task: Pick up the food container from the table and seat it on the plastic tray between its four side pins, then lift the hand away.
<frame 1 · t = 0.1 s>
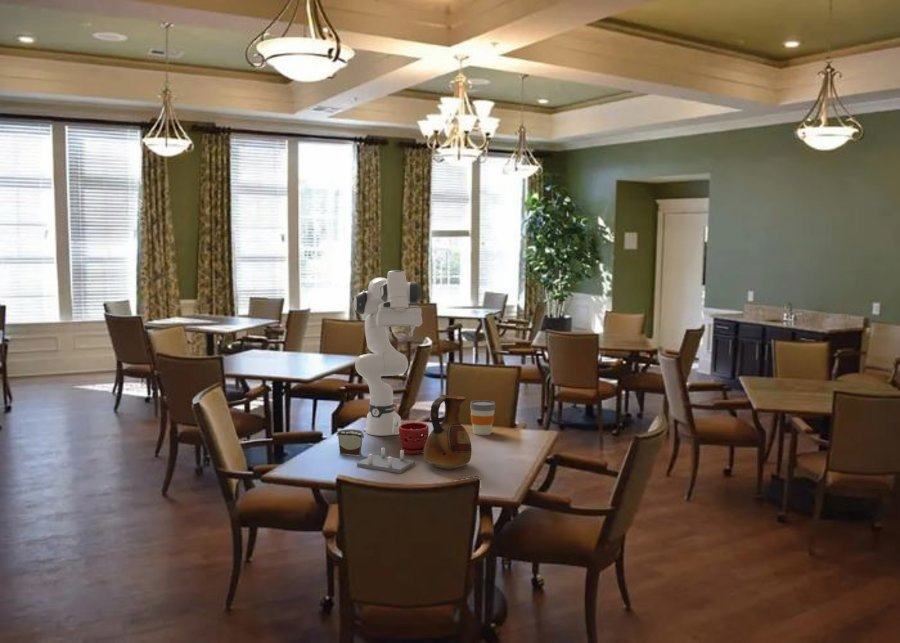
hand: (400, 336, 338), 52 cm above the table, tool tilted 20°, fingers open, 8 cm apart
reusable coffee cup: (482, 433, 383), on the table
food container: (352, 453, 341), on the table
ceramic pitcher: (447, 466, 325), on the table
pin tray: (386, 465, 324), on the table
plant pot: (413, 452, 345), on the table
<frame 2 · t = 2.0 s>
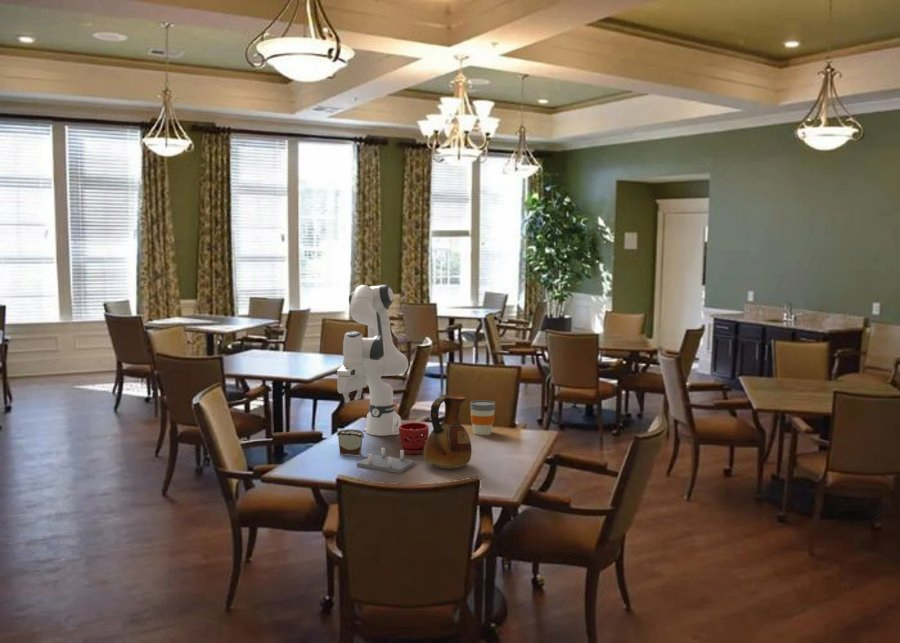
hand: (352, 400, 339), 24 cm above the table, tool pointing down, fingers open, 8 cm apart
nothing on the table moved.
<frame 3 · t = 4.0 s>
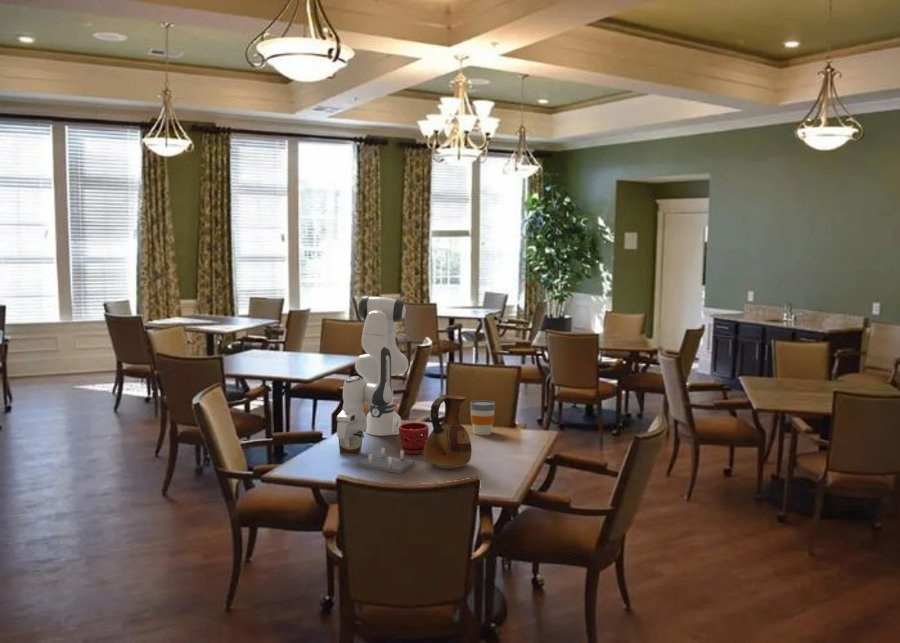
hand: (352, 444, 341), 4 cm above the table, tool pointing down, fingers closed on food container, 6 cm apart
food container: (352, 453, 341), on the table, touching gripper
everything else where it was.
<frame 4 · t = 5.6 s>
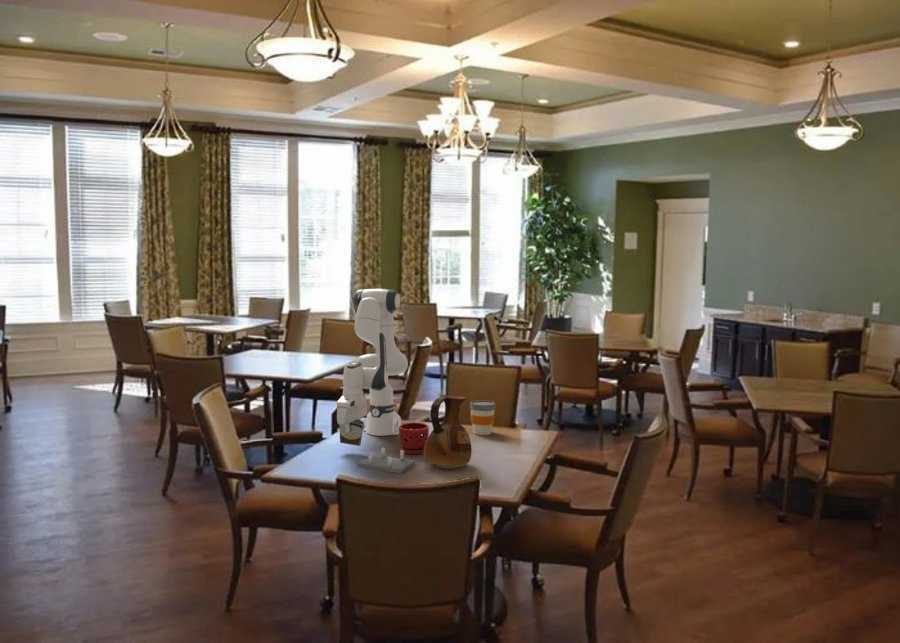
hand: (352, 430, 341), 10 cm above the table, tool pointing down, fingers closed on food container, 5 cm apart
food container: (352, 442, 342), point 4 cm above the table, touching gripper
everything else where it was.
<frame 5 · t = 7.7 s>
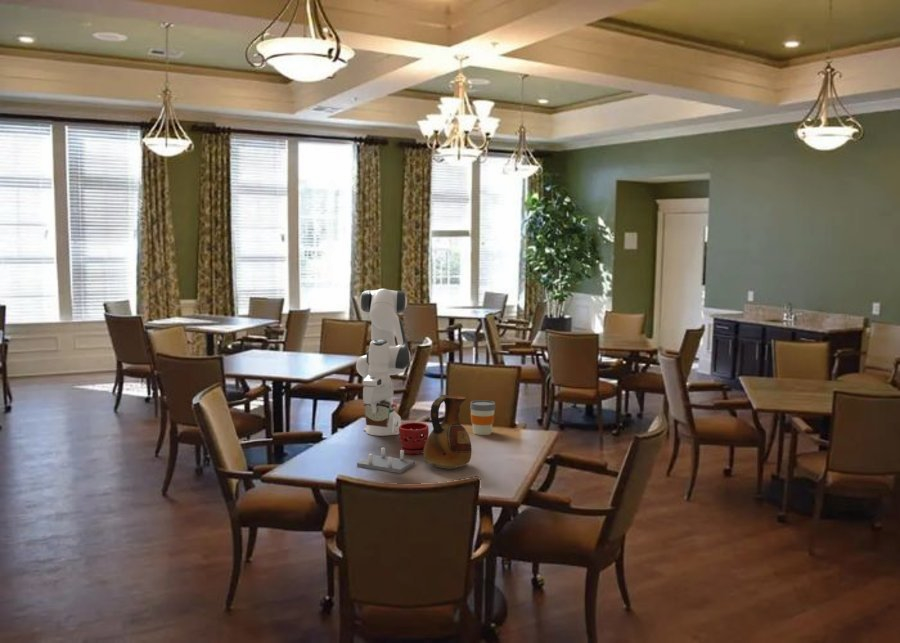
hand: (378, 411, 325), 22 cm above the table, tool pointing down, fingers closed on food container, 5 cm apart
food container: (379, 425, 326), point 16 cm above the table, touching gripper
everything else where it was.
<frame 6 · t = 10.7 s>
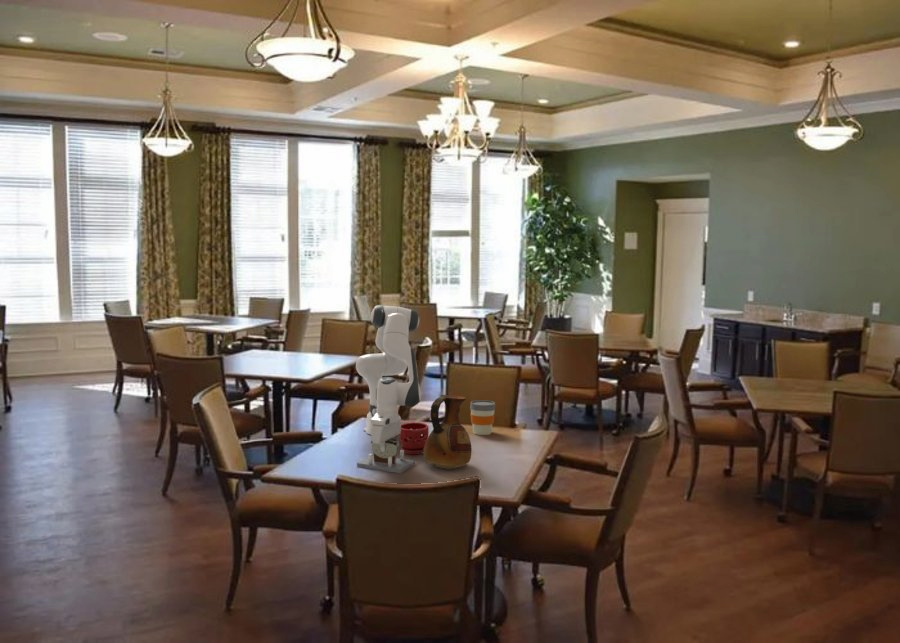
hand: (386, 449, 323), 7 cm above the table, tool pointing down, fingers closed on food container, 4 cm apart
food container: (387, 461, 324), point 1 cm above the table, touching gripper, pin tray
everything else where it was.
when the fingers open (7 cm above the table, at t = 10.8 s): food container stays where it is, resting on pin tray.
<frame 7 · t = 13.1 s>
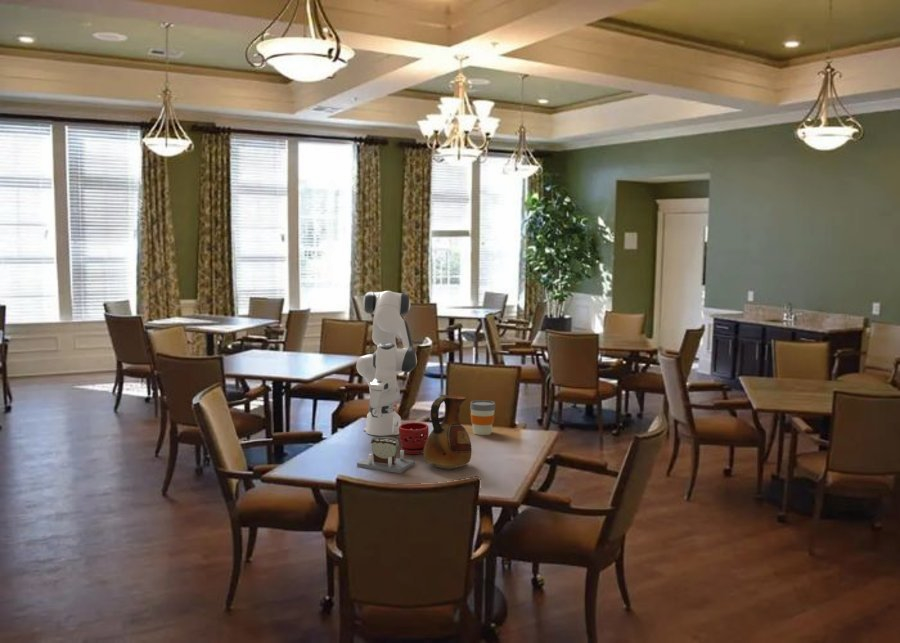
hand: (385, 414, 324), 21 cm above the table, tool pointing down, fingers open, 8 cm apart
food container: (386, 462, 323), point 1 cm above the table, touching pin tray
everything else where it was.
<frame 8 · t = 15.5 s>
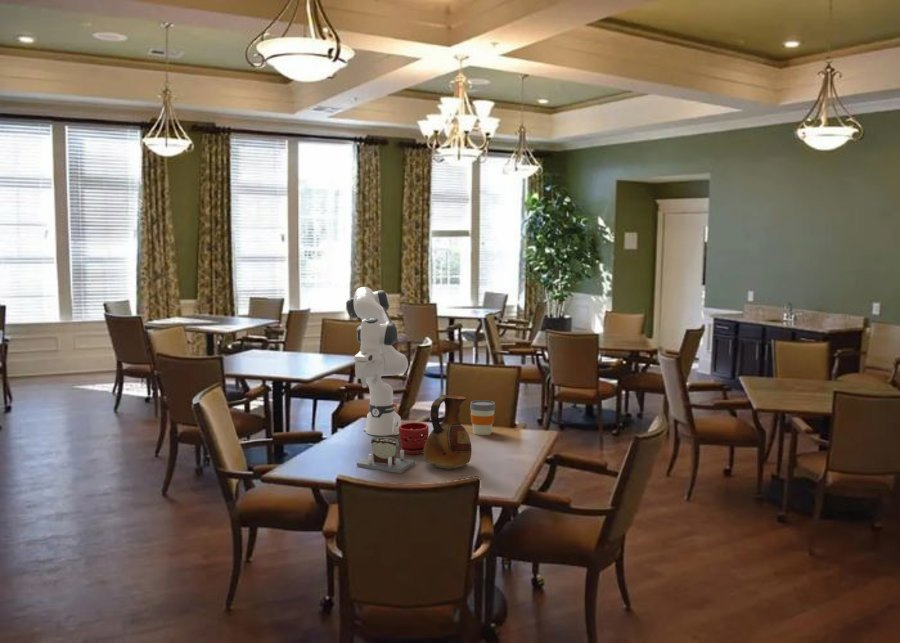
hand: (370, 385, 344), 29 cm above the table, tool pointing down, fingers open, 8 cm apart
nothing on the table moved.
at the end: food container 0.3 cm off-centre on the pin tray, point 1.3 cm above the pin tray's base; food container tilted 0°; the gripper is holding nothing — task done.
